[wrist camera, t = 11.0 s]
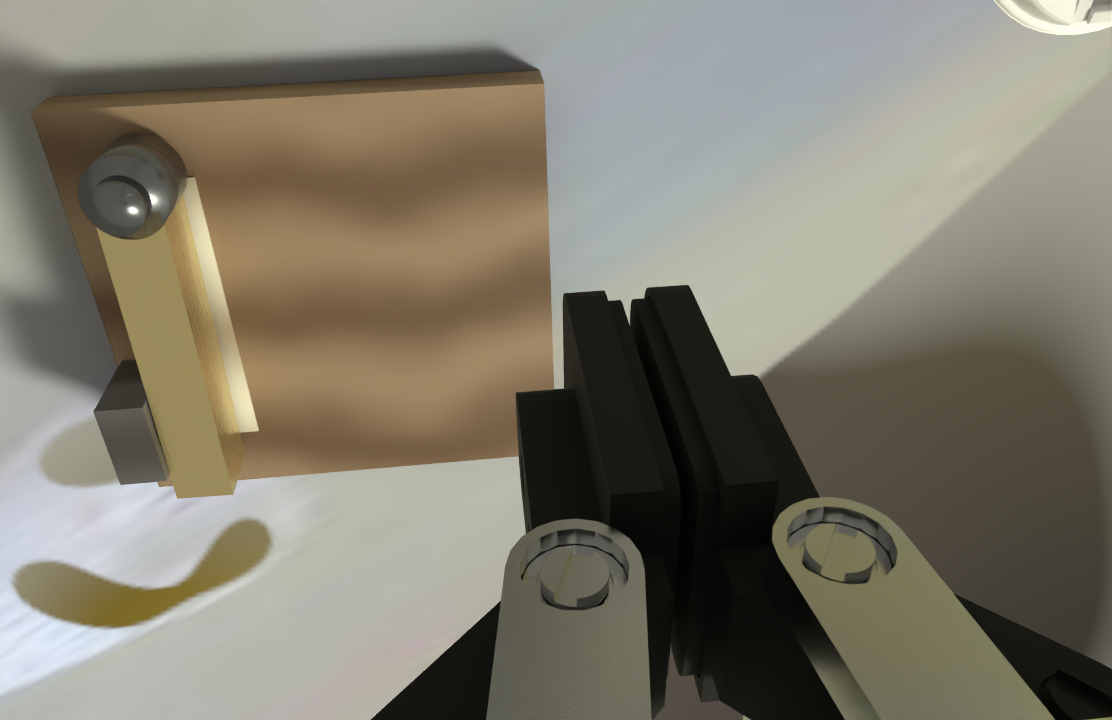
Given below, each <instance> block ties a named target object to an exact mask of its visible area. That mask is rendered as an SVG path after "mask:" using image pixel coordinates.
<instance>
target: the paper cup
mask: <svg viewBox="0 0 1112 720" xmlns="http://www.w3.org/2000/svg"><path fill="white" fill-rule="evenodd" d="M993 1H994V2H995V4H996V5H997V6H998V7H999V8H1000V9H1001V10H1002V11H1003V12H1004V13H1005V14H1006V15H1007V16H1009V17H1010V18H1012V19H1013V20H1015V21H1017V22H1018V23H1020V24H1021V25H1023V26H1026V27H1028V28H1031V29H1034V30H1037V31H1039V32H1044V33H1050V34H1057V35H1074V34H1083V33H1088V32H1093V31H1098V30H1101V29H1104V28H1107V27H1110V26H1112V0H993Z"/></svg>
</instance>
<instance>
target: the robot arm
mask: <svg viewBox="0 0 1112 720" xmlns="http://www.w3.org/2000/svg"><path fill="white" fill-rule="evenodd" d="M563 348H564V389H554V390H540V391H527V392H516V416H517V435H518V451H519V466H520V478H521V490H522V500H523V510H524V519H525V529H526V535H524V536H522V537H521V538H520V540H519V541H518V542H517V543H516V544H515V546H514V547H513V548H512V549H511V551H510V554H509V557H508V559H507V562H506V565H505V572H504V580H503V588H502V596H501V601H500V602H499V603H498V604H497V605H496V606H495V607H494V608H492V609H491V610H490V611H489V612H488V613H487V614H486V615H485V616H484V617H483V618H481V619H480V620H479V621H478V622H477V623H476V624H475V625H474V626H473V627H472V628H471V629H469V630H468V631H467V632H466V633H465V634H464V635H463V636H462V637H461V638H460V639H459V640H457V641H456V642H455V643H454V644H453V645H452V646H451V647H450V648H449V649H448V650H446V651H445V652H444V653H443V654H442V655H441V656H440V657H439V658H438V659H437V660H436V661H434V662H433V663H432V664H431V665H430V666H429V667H428V668H427V669H426V670H425V671H423V672H422V673H421V674H420V675H419V676H418V677H417V678H416V679H415V680H414V681H413V682H411V683H410V684H409V685H408V686H407V687H406V688H405V689H404V690H403V691H402V692H401V693H399V694H398V695H397V696H396V697H395V698H394V699H393V700H392V701H391V702H390V703H388V704H387V705H386V706H385V707H384V708H383V709H382V710H381V711H380V712H379V713H378V714H376V715H375V716H374V717H373V718H372V719H371V720H653V719H654V718H655V717H656V716H657V714H658V713H659V712H660V711H661V709H662V708H663V707H664V704H665V691H666V679H667V676H668V670H669V656H670V645H671V648H672V652H673V656H674V660H675V664H676V667H677V671H678V673H679V675H680V676H686V675H694V678H695V682H696V686H697V689H698V693H699V696H700V700H701V702H709V701H719V700H720V701H721V702H723V703H725V704H726V705H728V706H730V707H731V708H733V709H734V710H736V711H738V712H739V713H741V714H742V715H743V720H1112V669H1110V668H1108V667H1107V666H1105V665H1103V664H1102V663H1099V662H1097V661H1095V660H1093V659H1091V658H1089V657H1087V656H1085V655H1083V654H1080V653H1078V652H1076V651H1074V650H1072V649H1070V648H1068V647H1066V646H1064V645H1061V644H1059V643H1057V642H1055V641H1053V640H1051V639H1049V638H1046V637H1044V636H1042V635H1040V634H1038V633H1036V632H1034V631H1032V630H1030V629H1028V628H1025V627H1023V626H1021V625H1019V624H1017V623H1015V622H1013V621H1011V620H1008V619H1006V618H1004V617H1002V616H1000V615H998V614H996V613H993V612H992V611H989V610H987V609H985V608H983V607H981V606H979V605H977V604H974V603H973V602H970V601H968V600H966V599H964V598H961V597H960V596H958V595H956V594H953V593H952V592H951V590H950V589H949V588H948V587H947V585H946V584H945V583H944V582H943V581H942V579H941V578H940V577H939V576H938V574H937V573H936V572H935V571H934V569H933V568H932V567H931V566H930V564H929V563H928V562H927V561H926V560H925V558H924V557H923V556H922V555H921V554H920V552H919V551H918V550H917V548H916V547H915V546H914V545H913V544H912V542H911V541H910V540H909V538H908V537H907V536H906V535H905V534H904V532H903V531H902V530H901V529H900V528H899V527H898V526H897V525H896V524H894V522H892V521H891V520H890V519H889V518H888V517H887V516H885V515H883V514H882V513H880V512H878V511H876V510H875V509H873V508H871V507H869V506H866V505H863V504H860V503H857V502H854V501H851V500H847V499H840V498H832V497H823V498H820V497H819V495H818V493H817V491H816V489H815V487H814V485H813V483H812V481H811V479H810V477H809V475H808V473H807V471H806V469H805V467H804V465H803V463H802V461H801V459H800V457H799V455H798V453H797V451H796V449H795V447H794V445H793V443H792V441H791V439H790V437H789V436H788V433H787V432H786V429H785V428H784V426H783V424H782V422H781V420H780V418H779V416H778V414H777V412H776V410H775V408H774V406H773V404H772V402H771V400H770V398H769V396H768V394H767V392H766V390H765V388H764V386H763V384H762V382H761V381H760V380H759V378H758V377H757V376H755V375H740V376H731V375H730V373H729V371H728V368H727V366H726V364H725V362H724V360H723V358H722V355H721V353H720V351H719V349H718V347H717V345H716V342H715V340H714V338H713V336H712V334H711V332H710V329H709V327H708V325H707V323H706V321H705V319H704V316H703V314H702V312H701V310H700V308H699V306H698V303H697V301H696V299H695V297H694V295H693V293H692V290H691V289H690V287H689V286H688V285H680V286H666V287H651V288H647V289H646V292H645V298H644V299H633V300H632V302H631V311H630V326H629V323H628V319H627V316H626V313H625V310H624V307H623V304H622V302H621V300H615V301H608V299H607V296H606V293H605V291H591V292H576V293H564V295H563Z"/></svg>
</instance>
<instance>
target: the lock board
mask: <svg viewBox="0 0 1112 720" xmlns="http://www.w3.org/2000/svg"><path fill="white" fill-rule="evenodd" d="M31 113H32V116H33V119H34V122H35V125H36V128H37V131H38V134H39V137H40V140H41V143H42V145H43V148H44V151H45V154H46V157H47V160H48V163H49V166H50V169H51V172H52V175H53V178H54V181H55V184H56V186H57V189H58V192H59V195H60V198H61V201H62V204H63V207H64V210H65V213H66V216H67V219H68V222H69V224H70V227H71V230H72V233H73V236H74V239H75V242H76V245H77V248H78V251H79V254H80V257H81V260H82V263H83V265H84V268H85V271H86V274H87V277H88V280H89V283H90V286H91V289H92V292H93V295H94V298H95V301H96V304H97V306H98V309H99V312H100V315H101V318H102V321H103V324H104V327H105V330H106V333H107V336H108V339H109V342H110V345H111V347H112V350H113V353H114V356H115V359H116V362H117V365H118V368H117V370H116V372H115V374H114V376H113V377H112V379H111V381H110V383H109V385H108V386H107V388H106V390H105V392H104V394H103V395H102V397H101V399H100V401H99V403H98V404H97V406H96V408H95V410H94V415H95V417H96V420H97V422H98V425H99V428H100V431H101V433H102V436H103V439H104V441H105V444H106V447H107V449H108V452H109V455H110V458H111V460H112V463H113V466H114V468H115V471H116V474H117V476H118V479H119V482H120V485H124V484H136V483H148V482H158V485H159V487H164V486H173V482H172V479H171V476H170V472H169V469H168V466H167V462H166V459H165V456H164V452H163V449H162V446H161V442H160V439H159V436H158V432H157V429H156V426H155V422H154V419H153V416H152V412H151V409H150V406H149V402H148V399H147V396H146V392H145V389H144V386H143V382H142V379H141V375H140V372H139V369H138V365H137V362H136V359H135V355H134V352H133V349H132V345H131V342H130V339H129V335H128V332H127V329H126V325H125V322H124V319H123V315H122V312H121V309H120V305H119V302H118V299H117V295H116V292H115V289H114V285H113V282H112V279H111V275H110V272H109V269H108V265H107V262H106V259H105V255H104V252H103V249H102V245H101V242H100V238H99V235H98V232H97V228H96V226H94V225H93V224H92V223H91V222H90V221H89V220H88V218H87V217H86V216H85V214H84V213H83V211H82V209H81V207H80V204H79V201H78V196H77V188H78V183H79V180H80V178H81V176H82V174H83V173H84V172H85V171H86V170H87V169H88V167H89V166H90V165H91V164H92V163H93V162H94V161H95V160H96V159H97V158H98V157H99V155H100V154H101V153H102V152H103V151H104V150H105V149H106V148H107V147H108V146H109V145H110V144H111V142H113V141H114V140H115V139H116V138H118V137H120V136H122V135H125V134H129V133H145V134H149V135H153V136H156V137H158V138H160V139H162V140H164V141H165V142H167V143H168V144H169V145H171V146H172V147H173V148H174V149H175V150H176V151H177V152H178V154H179V155H180V156H181V158H182V160H183V162H184V164H185V167H186V170H187V186H186V189H185V191H184V193H183V195H184V199H185V204H186V208H187V212H188V216H189V220H190V225H191V229H192V233H193V237H194V241H195V246H196V250H197V254H198V258H199V262H200V267H201V271H202V275H203V279H204V283H205V288H206V292H207V296H208V300H209V304H210V309H211V313H212V317H213V321H214V325H215V330H216V334H217V338H218V342H219V346H220V351H221V355H222V359H223V363H224V367H225V372H226V376H227V380H228V384H229V388H230V393H231V397H232V401H233V405H234V409H235V414H236V418H237V422H238V426H239V430H240V435H241V439H242V443H243V447H244V451H245V456H244V460H243V463H242V467H241V470H240V473H239V477H238V480H246V479H258V478H269V477H281V476H293V475H304V474H316V473H328V472H339V471H351V470H363V469H374V468H386V467H398V466H409V465H421V464H433V463H444V462H456V461H468V460H479V459H491V458H503V457H514V456H519V451H518V435H517V416H516V392H527V391H540V390H554V376H553V344H552V313H551V282H550V251H549V220H548V189H547V158H546V127H545V96H544V82H543V79H542V76H541V73H540V70H536V71H517V72H499V73H480V74H462V75H443V76H425V77H406V78H388V79H369V80H351V81H332V82H314V83H295V84H277V85H258V86H240V87H221V88H203V89H184V90H166V91H147V92H129V93H110V94H92V95H73V96H55V97H49V98H48V99H46V100H45V101H44V102H43V103H41V104H40V105H39V106H38V107H36V108H35V109H34V110H33V111H31Z"/></svg>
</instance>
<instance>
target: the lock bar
mask: <svg viewBox="0 0 1112 720" xmlns="http://www.w3.org/2000/svg"><path fill="white" fill-rule="evenodd" d="M186 186H187V170H186V167H185V164H184V162H183V160H182V158H181V156H180V155H179V154H178V152H177V151H176V150H175V149H174V148H173V147H172V146H171V145H169V144H168V143H167V142H165V141H164V140H162V139H160V138H158V137H156V136H153V135H149V134H145V133H129V134H125V135H122V136H120V137H118V138H116V139H115V140H114V141H113V142H111V144H110V145H109V146H108V147H107V148H106V149H105V150H104V151H103V152H102V153H101V154H100V155H99V157H98V158H97V159H96V160H95V161H94V162H93V163H92V164H91V165H90V166H89V167H88V169H87V170H86V171H85V172H84V173H83V174H82V176H81V178H80V180H79V183H78V188H77V196H78V201H79V204H80V207H81V209H82V211H83V213H84V214H85V216H86V217H87V218H88V220H89V221H90V222H91V223H92V224H93V225H94V226H96V228H97V232H98V235H99V238H100V242H101V245H102V249H103V252H104V255H105V259H106V262H107V265H108V269H109V272H110V275H111V279H112V282H113V285H114V289H115V292H116V295H117V299H118V302H119V305H120V309H121V312H122V315H123V319H124V322H125V325H126V329H127V332H128V335H129V339H130V342H131V345H132V349H133V352H134V355H135V359H136V362H137V365H138V369H139V372H140V375H141V379H142V382H143V386H144V389H145V392H146V396H147V399H148V402H149V406H150V409H151V412H152V416H153V419H154V422H155V426H156V429H157V432H158V436H159V439H160V442H161V446H162V449H163V452H164V456H165V459H166V462H167V466H168V469H169V472H170V476H171V479H172V482H173V486H174V489H175V492H176V496H177V498H192V497H206V496H220V495H233V494H234V490H235V487H236V484H237V480H238V477H239V473H240V470H241V467H242V463H243V460H244V456H245V451H244V447H243V443H242V439H241V435H240V430H239V426H238V422H237V418H236V414H235V409H234V405H233V401H232V397H231V393H230V388H229V384H228V380H227V376H226V372H225V367H224V363H223V359H222V355H221V351H220V346H219V342H218V338H217V334H216V330H215V325H214V321H213V317H212V313H211V309H210V304H209V300H208V296H207V292H206V288H205V283H204V279H203V275H202V271H201V267H200V262H199V258H198V254H197V250H196V246H195V241H194V237H193V233H192V229H191V225H190V220H189V216H188V212H187V208H186V204H185V199H184V195H183V193H184V191H185V189H186Z"/></svg>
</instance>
